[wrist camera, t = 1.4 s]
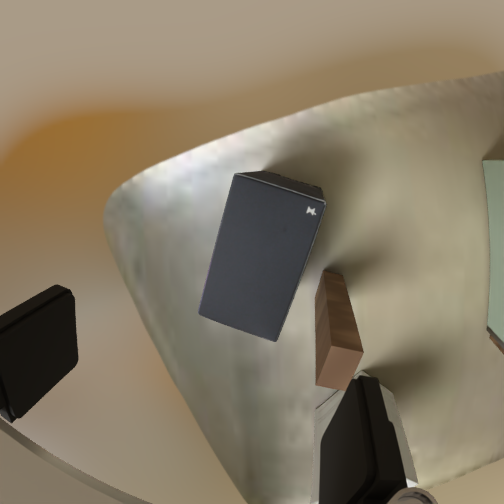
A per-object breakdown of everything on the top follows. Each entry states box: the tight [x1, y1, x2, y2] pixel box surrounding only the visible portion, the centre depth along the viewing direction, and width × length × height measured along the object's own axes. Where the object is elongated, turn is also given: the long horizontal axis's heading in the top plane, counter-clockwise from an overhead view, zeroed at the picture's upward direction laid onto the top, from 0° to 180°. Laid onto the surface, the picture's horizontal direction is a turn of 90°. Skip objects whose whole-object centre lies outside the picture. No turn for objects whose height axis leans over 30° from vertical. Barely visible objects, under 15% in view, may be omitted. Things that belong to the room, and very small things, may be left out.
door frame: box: [315, 270, 504, 391], centre depth 23 cm, size 25×3×14 cm, turn 78°
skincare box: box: [310, 371, 418, 504], centre depth 27 cm, size 8×6×15 cm
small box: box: [198, 171, 327, 342], centre depth 26 cm, size 11×6×10 cm, turn 164°
